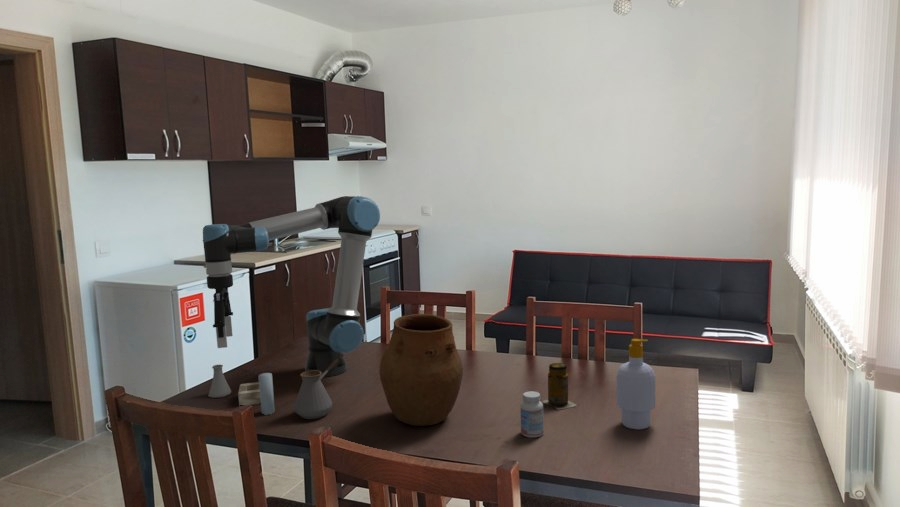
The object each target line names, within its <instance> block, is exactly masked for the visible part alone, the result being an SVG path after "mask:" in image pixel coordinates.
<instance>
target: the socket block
mask: <svg viewBox="0 0 900 507" xmlns="http://www.w3.org/2000/svg"><path fill="white" fill-rule="evenodd" d="M237 396H238V397H237V398H238V406H239V407H241V406H240V405H245V406H252V405H259V404H260V403H261V402H260V390H259V381H257V382H256V381H255V382H247V383H240V384H239V389H238V394H237ZM260 405H261V404H260Z"/></svg>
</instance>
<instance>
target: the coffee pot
mask: <svg viewBox="0 0 900 507" xmlns="http://www.w3.org/2000/svg"><path fill="white" fill-rule="evenodd" d="M343 355H344V358H343ZM341 357H342V358H343V359H345V360H346V359H348V356H347V355H346V354H345V353H343V354H341V355H340V356H339V357H337V359H336V360H335V361H334V362H333V363H332V364H331V365H330V366H329V367H328V368H327V370H326V371H325V372H324V373H323V374H322V372H321V371H318V370H311V371H305V370H304V371H302V372H301V373H300V374H299V376H300V377H301V380H302V382H301V386H300V388H299V392H298V394H297V397H296V400H295V403H294V405H293V410H294V412H295V413H296V414H297V415H298V416H300V417H301V418H303V419H304V420H305V419H306V420H315V419H316V420H317V419H321V418H323V417H325V416H326V415H327V414H328V412H330V411H331V409H332V406H333V400H332V399H331V397H330V396H329V393H328V391H327V390H326V388H325V386H324V384H323V382H322V379H323V378H324V376H325V375H326V374H327V372H329V371H330V370H331V369H332V368H333V367H334V366H335V365H336V364H337V362H338V361H339V360H341ZM345 357H346V358H345ZM321 374H322V375H321Z"/></svg>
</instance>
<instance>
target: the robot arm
mask: <svg viewBox="0 0 900 507" xmlns="http://www.w3.org/2000/svg"><path fill="white" fill-rule="evenodd" d="M380 219H381V211H380V209H379V206H378V205H377V203H376V202H375V201H374V200H372V198H369V197H367V196H363V195H362V196H359V195H357V196H355V195H354V196H351V195H350V196H346V195H345V196H340V197H337V198H333V199H330V200H325V201H324V202H319V203H316V204H315V206H314V207H310V208H305V209H302V210H301V209H300V210H298V211H293V212H289V213H286V214H281V215H277V216H276V215H275V216H271V217H268V218H264V219H260V220H259V219H258V220H254V221H250V222H247V223H242V224H239V225H238V224H237V225H231V224H230V225H228V224H227V223H217V224H216V223H215V224H214V223H213V224H208V225H207V224H206V225H204V227H202V244H203V252H204V262H205V264H203V268H204V269H205V273H206V275H208V276H206V286H207V288H208V289H211V290H215V292H214V293H213V307H214V308H213V310H214V311H213V312H214V314H213V315H214V316H213V317H214V321H213V322H214V323H213V324H212V328H215V336H216V343H217V349H222V348H223V349H224V348H228V340H227V339H228V338H229V337H233V325H232V316H234V312H233V311H232V307H231V302H230V296H229V288H230V287H233V285H234V280H233V274H232V273H233V267H232V265H233V264H232V258H231V257H232V256H231V255H233V254H234V255H235V254H241V253H242V254H243V253H255V252H256V253H257V252H261V251H262V252H263V251H266V250H267V249H268V247H269V246H270V245H269V244H270V241H273V240H277V239H280V238H285V237H289V236H293V235H296V234H302V233H305V232H309V231H313V230H317V229H321V230H323V231H325V230H329V229H338V230H337V231H338V232H337V233H338V234H339V236H340V238H341V241H340V248H339V255H338V260H337V261H338V262H337V267H336V268H337V269H336V276H335V282H334V283H335V284H334V290H333V298H332V303H331V304H332V305H331V307H326V308H321V309H314V310H310V311H308V312H307V313H306V316H305V318H306V320H305V323H306V333H307V345H308V346H307V347H308V353H307V357H306V362H305V365H304V372H305V371H311V370H318V371H321V372H322V374H323V373H324V372H325V371H326V370H327V368H328V367H329V366H330V365H331V364H332V363H333V362H334V361H335V360H336V359H337V357H339V356H340V355H341V354H344V355H343V358H345V354H347V353H350V352H353V351H355V350H356V349H357V348H359V346H360V345H361V344H362V341H363V339H364V329H363V327H362V325H361V324H360V320H361V313H360V312H359V311H358V303H359V296H360V288H361V282H362V273H363V269H364V261H365V254H366V246H367V241H369V240H370V239H371V238H372V237H373V230H374V229H375V228H376V227H378V225H379V222H380ZM227 337H228V338H227ZM343 358H342V357H341V360H339V361H338V362H337V364H336V365H335V366H334V367H333V368H332V369H331V370H330V371H329V372H327V374H326V375H325V376H324V377H325V378H326V377H332V376H337V375H341V374H343V373H345V372H346V371H347V369H348V365H347V364H348V363H347V361H346V359H343ZM322 374H321V375H322ZM324 377H323V378H324Z"/></svg>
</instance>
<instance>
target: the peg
mask: <svg viewBox="0 0 900 507" xmlns="http://www.w3.org/2000/svg"><path fill="white" fill-rule="evenodd" d="M257 377H258V382H259V390H260V402H261V404H260V412H261V413H262V414H264V415H263V416H269V415H268V414H270V415H273V414H274V412H275V413H276V409H275V397H274V394H275V393H274V384H273V383H274V382H273V374H272V373H271V372H263V373H260V374H258V376H257ZM272 413H273V414H272ZM262 414H261V415H262Z"/></svg>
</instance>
